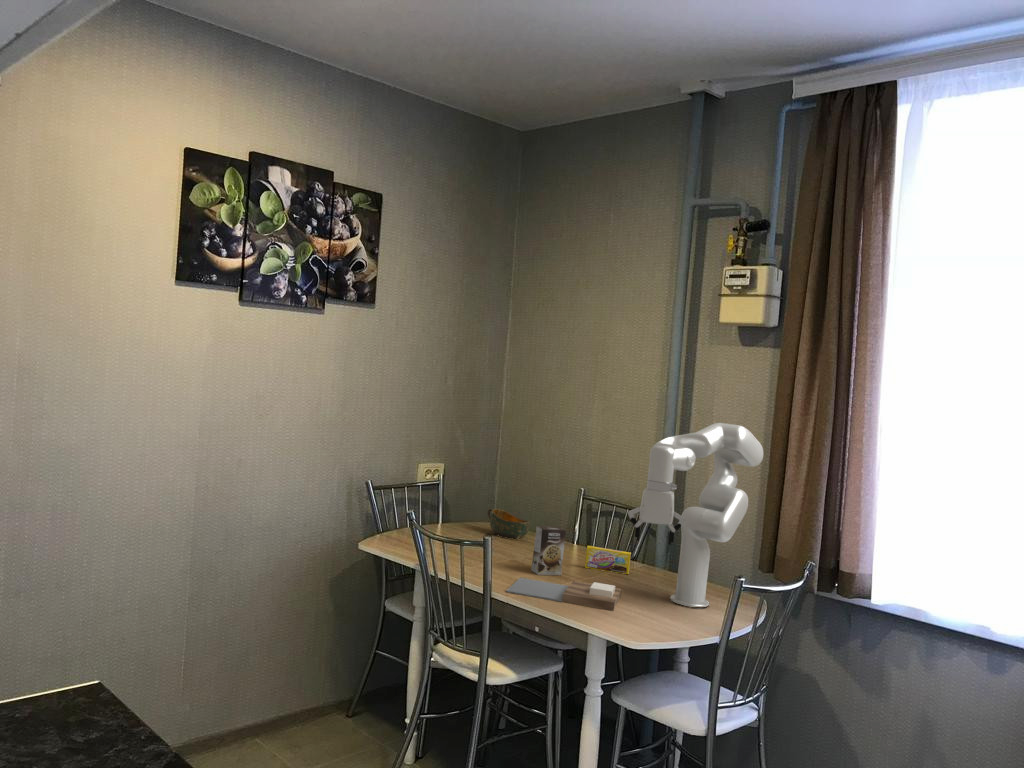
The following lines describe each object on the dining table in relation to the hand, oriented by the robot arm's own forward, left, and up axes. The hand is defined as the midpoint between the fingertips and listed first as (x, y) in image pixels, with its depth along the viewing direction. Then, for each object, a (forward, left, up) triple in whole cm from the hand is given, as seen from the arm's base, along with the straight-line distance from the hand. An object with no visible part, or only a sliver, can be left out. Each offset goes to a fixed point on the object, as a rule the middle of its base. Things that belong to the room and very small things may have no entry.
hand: (653, 542), depth 255 cm
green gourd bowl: (-82, -66, -23) cm, 108 cm away
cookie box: (-30, -38, -22) cm, 53 cm away
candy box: (-48, -19, -23) cm, 56 cm away
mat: (-6, -35, -22) cm, 42 cm away
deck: (-6, -18, -22) cm, 29 cm away
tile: (-6, -15, -20) cm, 25 cm away
